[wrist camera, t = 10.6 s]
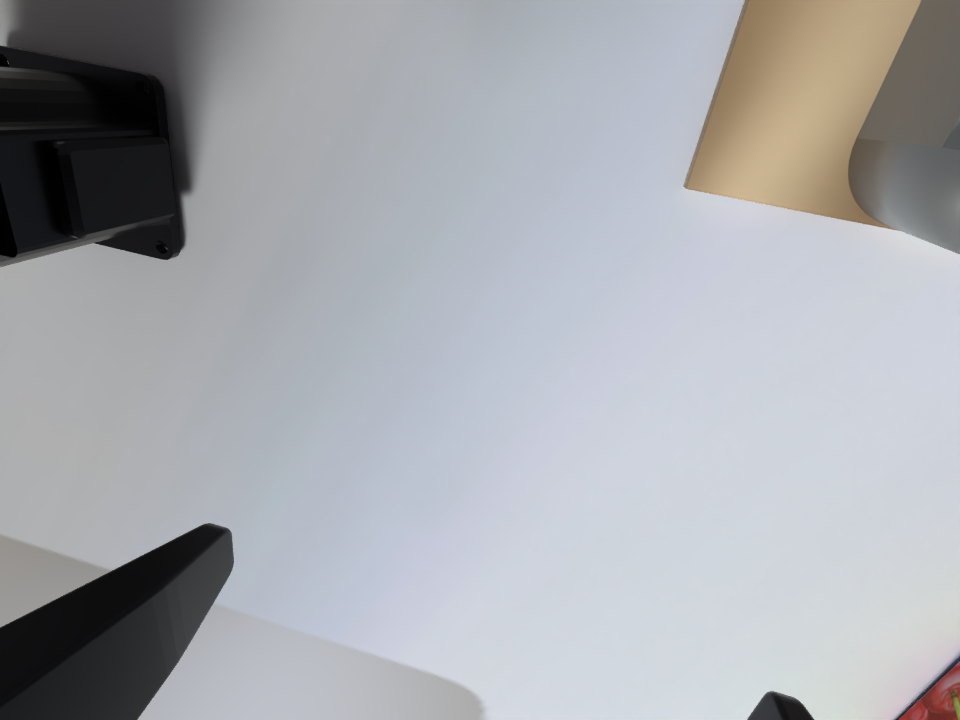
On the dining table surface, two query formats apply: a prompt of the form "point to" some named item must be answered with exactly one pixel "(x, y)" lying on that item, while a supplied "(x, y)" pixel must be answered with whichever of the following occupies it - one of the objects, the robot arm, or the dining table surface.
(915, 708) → the snack box
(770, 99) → the cork pad
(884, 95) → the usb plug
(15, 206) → the robot arm
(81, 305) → the dining table surface
